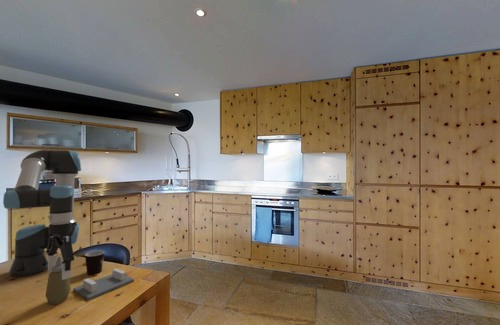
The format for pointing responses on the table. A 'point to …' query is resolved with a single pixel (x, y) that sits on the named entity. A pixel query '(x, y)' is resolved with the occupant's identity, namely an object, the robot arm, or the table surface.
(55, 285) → the squeeze bottle
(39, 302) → the table surface
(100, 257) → the coffee mug
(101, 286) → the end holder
